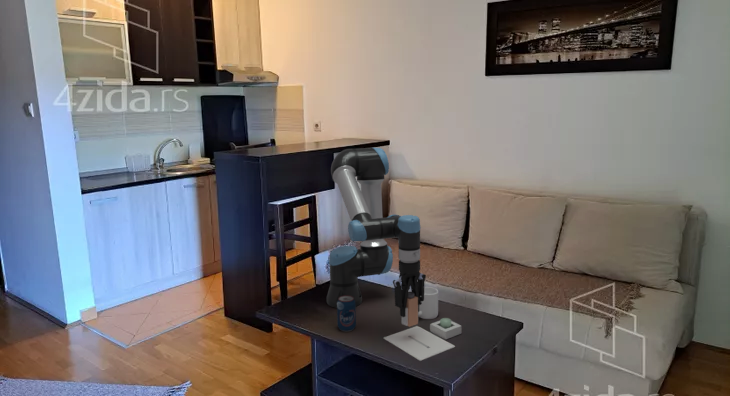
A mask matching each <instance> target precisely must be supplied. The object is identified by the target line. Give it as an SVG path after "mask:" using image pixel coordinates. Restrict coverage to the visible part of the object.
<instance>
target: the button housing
mask: <svg viewBox="0 0 730 396" xmlns="http://www.w3.org/2000/svg"><path fill="white" fill-rule="evenodd" d="M429 332H430V333H432V334H434V335H435V336H437V337H439V338H441V339H443V340H445V341H446V340H448V339H451V338H453V337H457V336H458V335H461V334H462V325H460V324H459V323H457V322H455V321H453V320H451V327H450V328H447V329H445V328H443V327H441V326H440V320H437V321H435V322H432V323H430V324H429Z"/></svg>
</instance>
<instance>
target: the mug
mask: <svg viewBox="0 0 730 396" xmlns="http://www.w3.org/2000/svg"><path fill="white" fill-rule="evenodd" d="M421 303H422V304H421V305H419V312H418V318H420V319H423V320H434V319H436V318H437V317H438V315H439V290H438V289H437V288H436V287H432V286H424V301H421Z"/></svg>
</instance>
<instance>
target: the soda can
mask: <svg viewBox="0 0 730 396" xmlns="http://www.w3.org/2000/svg"><path fill="white" fill-rule="evenodd" d="M356 307H357V306H355V300H354V297H352V296H349V295H344V296H340V297H339V298H338V301H337V308H336V316H337V327H338V329H339V330H340V331H342V332H351V331H353V330H354V329H355V327H356V326H357V319H356V318H357V315H356V314H357V313H356Z"/></svg>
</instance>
